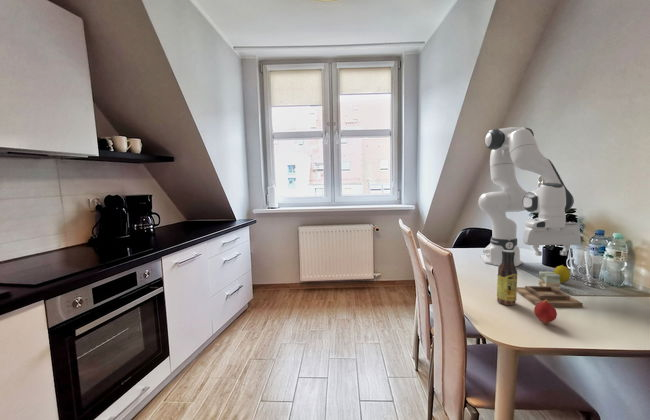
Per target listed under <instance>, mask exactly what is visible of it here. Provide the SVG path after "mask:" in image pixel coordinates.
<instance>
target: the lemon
mask: <svg viewBox="0 0 650 420" xmlns="http://www.w3.org/2000/svg"><path fill="white" fill-rule="evenodd" d="M553 272H554V273H556V274H558V275H560V284H563V283H565V282H568V281H569V280H570V278H571V272H570V269H569V268H568V267H567V266H564V264H562V265H558V266H556V267H555V269H554V270H553Z"/></svg>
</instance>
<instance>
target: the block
mask: <svg viewBox="0 0 650 420" xmlns="http://www.w3.org/2000/svg"><path fill="white" fill-rule="evenodd" d="M538 274H539V275H538V286H553V287H554V288H556V289H558V290H560V285H561V283H560V275H558V274H556V273H554V271H539V272H538Z"/></svg>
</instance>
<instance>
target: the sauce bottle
mask: <svg viewBox="0 0 650 420" xmlns="http://www.w3.org/2000/svg"><path fill="white" fill-rule="evenodd" d="M514 255H515V252H514V251H512V250H502V263H501V264H500V266H498V267H497V280H496V281H497V282H496V285H497V286H496V301H497V302H498V303H499V304H500V305H501V304H502V305H504V306H505V305H506V306H514V305H516V301H517V294H518V293H517V287H518V271H517V268H516V266H515V265H514Z"/></svg>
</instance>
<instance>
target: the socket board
mask: <svg viewBox="0 0 650 420" xmlns="http://www.w3.org/2000/svg"><path fill="white" fill-rule="evenodd" d="M517 294H519V295H520V296H521V297H522V298H524V299H525V300H527V301H528V302H529V303H530V304H532V305H534V307H535V306H536V305H537V304H538V303H540V302H542V301H545V300H548V303H550V304H551V305H552V306H553V307H554V308H583V302H581V301H579V300H578V299H576V298H574V297H573V296H570V295H569V294H567V293H566V292H563V291H562V290H560V289H556V288H554V287H553V286H540V285H538V286H537V285H525V287H524V286H522V287H519V286H517Z"/></svg>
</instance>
